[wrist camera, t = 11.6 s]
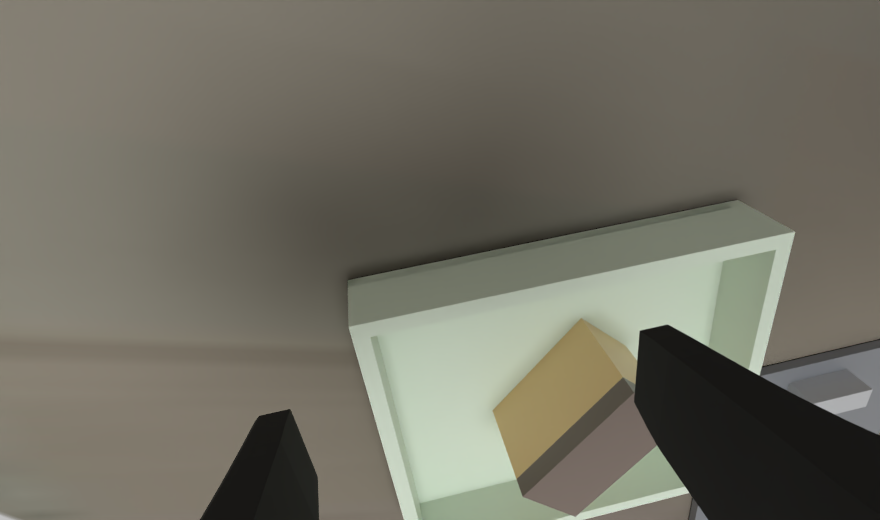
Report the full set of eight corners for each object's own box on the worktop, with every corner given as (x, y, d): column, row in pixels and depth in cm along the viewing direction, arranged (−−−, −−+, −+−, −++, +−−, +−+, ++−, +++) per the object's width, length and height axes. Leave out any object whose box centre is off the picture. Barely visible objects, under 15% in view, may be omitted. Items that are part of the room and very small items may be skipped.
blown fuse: (625, 345, 23) (684, 421, 19) (538, 431, 24) (575, 516, 21) (581, 318, 21) (634, 392, 18) (492, 410, 23) (522, 496, 19)
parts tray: (737, 199, 20) (795, 231, 18) (696, 434, 27) (733, 481, 25) (347, 280, 19) (348, 326, 17) (408, 504, 26) (416, 561, 24)
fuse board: (911, 332, 26) (951, 357, 25) (812, 564, 37) (835, 592, 36) (715, 378, 26) (742, 407, 24) (673, 601, 37) (689, 632, 35)
